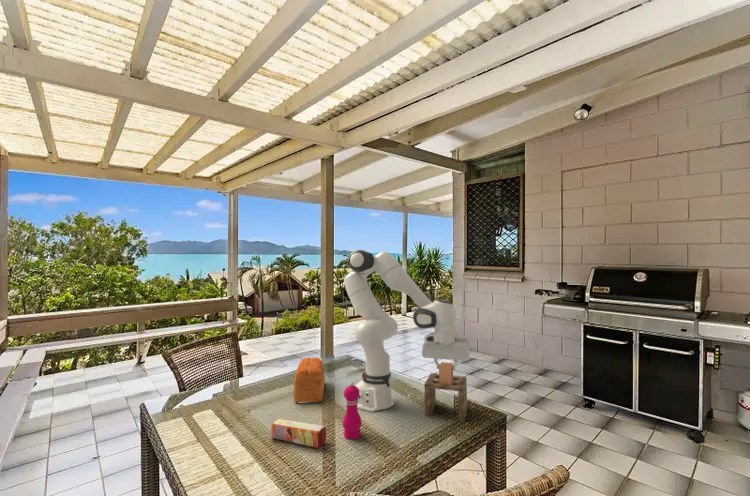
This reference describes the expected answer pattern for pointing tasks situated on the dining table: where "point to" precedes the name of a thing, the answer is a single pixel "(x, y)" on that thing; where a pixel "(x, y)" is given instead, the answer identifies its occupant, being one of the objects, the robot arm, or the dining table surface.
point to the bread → (309, 381)
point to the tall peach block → (445, 373)
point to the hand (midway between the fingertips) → (446, 369)
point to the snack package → (299, 433)
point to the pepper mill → (351, 413)
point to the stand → (457, 385)
